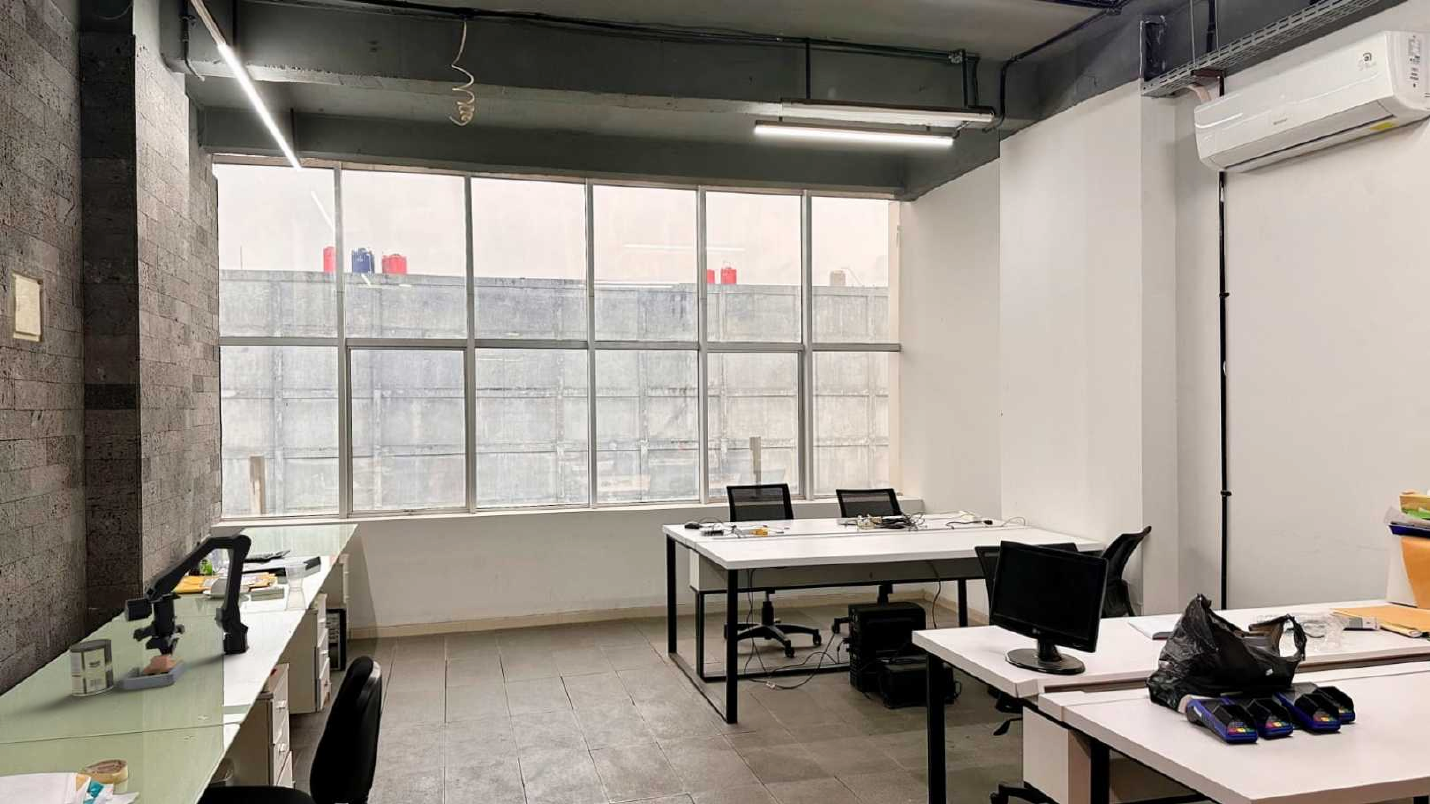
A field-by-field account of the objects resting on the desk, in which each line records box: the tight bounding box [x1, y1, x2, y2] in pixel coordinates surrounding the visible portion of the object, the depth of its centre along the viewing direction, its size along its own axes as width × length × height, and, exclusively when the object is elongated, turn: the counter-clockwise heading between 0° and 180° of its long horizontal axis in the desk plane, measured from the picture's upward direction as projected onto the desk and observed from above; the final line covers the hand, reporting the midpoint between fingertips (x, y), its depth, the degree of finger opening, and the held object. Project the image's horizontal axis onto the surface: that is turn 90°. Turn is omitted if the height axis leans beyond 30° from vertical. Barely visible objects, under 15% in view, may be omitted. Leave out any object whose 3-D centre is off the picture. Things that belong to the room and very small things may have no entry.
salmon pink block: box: [149, 654, 172, 669], centre depth 274 cm, size 4×4×3 cm
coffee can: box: [68, 638, 115, 697], centre depth 260 cm, size 10×10×14 cm
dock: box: [117, 661, 187, 692], centre depth 266 cm, size 14×14×3 cm
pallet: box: [140, 658, 184, 677], centre depth 275 cm, size 9×9×2 cm
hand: (167, 663), depth 280 cm, fingers closed
